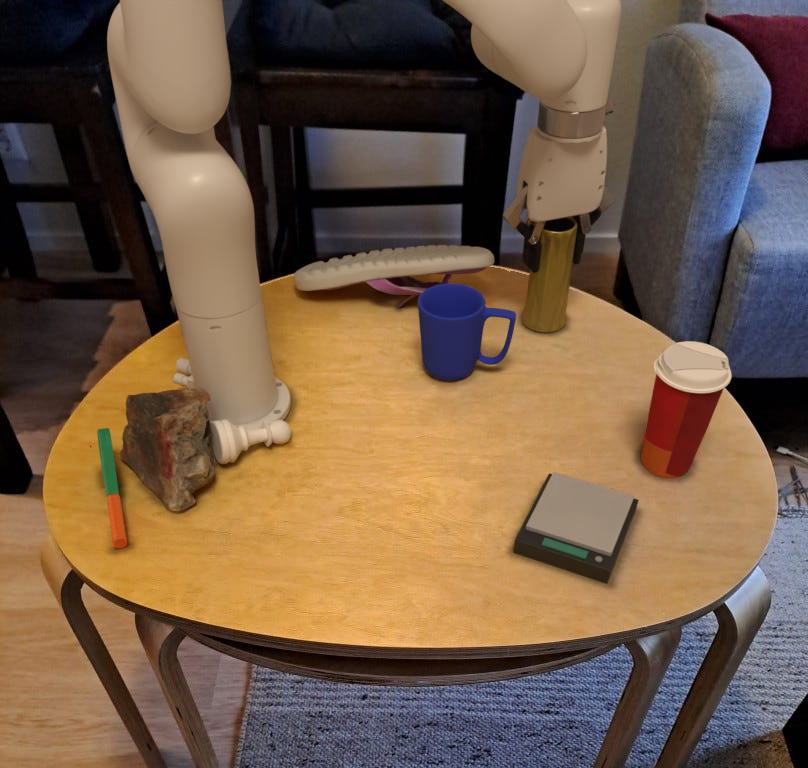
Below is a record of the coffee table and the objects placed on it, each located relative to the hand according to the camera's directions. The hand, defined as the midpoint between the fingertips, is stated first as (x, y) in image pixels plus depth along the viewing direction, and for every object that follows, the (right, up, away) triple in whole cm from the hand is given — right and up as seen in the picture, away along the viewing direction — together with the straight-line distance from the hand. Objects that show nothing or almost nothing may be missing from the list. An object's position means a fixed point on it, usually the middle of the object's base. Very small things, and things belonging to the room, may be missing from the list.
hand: (551, 262), depth 107 cm
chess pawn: (-41, -26, -15) cm, 50 cm away
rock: (-42, -28, -14) cm, 52 cm away
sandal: (-21, +3, +6) cm, 23 cm away
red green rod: (-50, -31, -18) cm, 62 cm away
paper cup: (+11, -28, -13) cm, 32 cm away
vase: (0, -6, +7) cm, 9 cm away
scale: (-1, -36, -21) cm, 41 cm away
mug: (-12, -15, -1) cm, 19 cm away
